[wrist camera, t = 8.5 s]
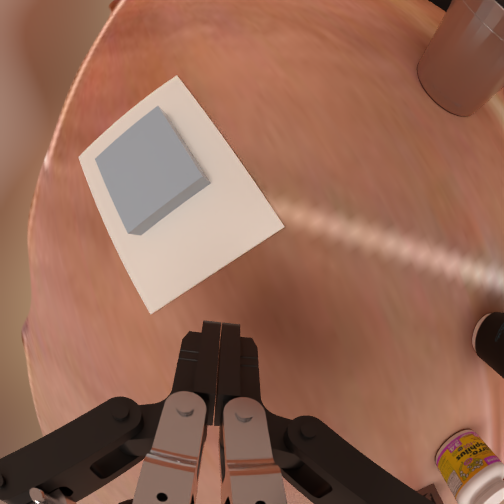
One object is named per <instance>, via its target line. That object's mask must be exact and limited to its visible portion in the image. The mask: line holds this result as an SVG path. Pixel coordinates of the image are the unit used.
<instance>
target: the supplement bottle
mask: <svg viewBox="0 0 504 504" xmlns="http://www.w3.org/2000/svg"><path fill="white" fill-rule="evenodd" d="M436 465H437V467H438V469H439V470H440V472H441V474H442V476H443V478H444V479H445V481H446V483H447V484H448V486H449V488H450V490H451V492H452V493H453V495H454V497H455V499H456V501H457V502H458V504H499V503H500V502H501V501H502V500H503V499H504V481H503V477H504V464H503V463H502V462H501V461H500V460H499V458H498V457H497V456H496V455H495V454H494V453H493V452H492V451H491V449H490V448H489V447H488V446H487V445H486V444H485V443H484V442H483V440H482V439H481V438H480V437H479V436H478V435H477V434H476V433H475V432H474V431H473V430H463V431H461V432H458V433H457V434H455V435H453V436H452V437H450V438H449V439H448V440H447V441H446V442H445V443H444V444H443V445H442V447H441V448H440V449H439V451H438V453H437V455H436Z"/></svg>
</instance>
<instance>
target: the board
mask: <svg viewBox="0 0 504 504" xmlns="http://www.w3.org/2000/svg"><path fill="white" fill-rule="evenodd" d="M157 106H159V107H160V108H161V109H162V110H163V111H164V112H165V113H166V114H167V115H168V117H169V118H170V120H171V121H172V123H173V125H174V126H175V128H176V129H177V131H178V132H179V134H180V136H181V137H182V139H183V140H184V142H185V143H186V145H187V146H188V148H189V150H190V151H191V153H192V154H193V156H194V157H195V159H196V161H197V162H198V164H199V165H200V167H201V168H202V170H203V172H204V173H205V175H206V176H207V178H208V179H209V181H210V182H211V184H209V185H208V186H206V187H205V188H204V189H202V190H201V191H199V192H198V193H197V194H195V195H194V196H192V197H191V198H190V199H188V200H187V201H185V202H184V203H183V204H181V205H180V206H179V207H177V208H176V209H175V210H173V211H172V212H171V213H169V214H168V215H167V216H165V217H164V218H163V219H161V220H160V221H159V222H157V223H156V224H155V225H154V226H152V227H151V228H150V229H148V230H147V231H146V232H145V233H143V234H142V235H134V234H128V233H127V231H126V229H125V227H124V225H123V223H122V220H121V218H120V216H119V214H118V212H117V210H116V208H115V205H114V203H113V201H112V199H111V196H110V194H109V192H108V190H107V187H106V185H105V183H104V180H103V178H102V175H101V173H100V171H99V168H98V166H97V163H96V161H95V158H96V157H97V156H98V155H99V154H101V153H102V152H103V151H104V150H105V149H106V148H107V147H108V146H109V145H110V144H111V143H113V142H114V141H115V140H116V139H117V138H118V137H119V136H121V135H122V134H123V133H124V132H125V131H126V130H128V129H129V128H130V127H131V126H132V125H134V124H135V123H136V122H137V121H139V120H140V119H141V118H142V117H144V116H145V115H146V114H147V113H149V112H150V111H151V110H153V109H154V108H155V107H157ZM79 160H80V163H81V166H82V169H83V172H84V174H85V177H86V180H87V182H88V185H89V188H90V190H91V193H92V195H93V198H94V200H95V203H96V205H97V207H98V210H99V212H100V215H101V217H102V219H103V222H104V224H105V226H106V228H107V231H108V233H109V235H110V237H111V239H112V241H113V244H114V246H115V248H116V250H117V252H118V254H119V256H120V258H121V260H122V262H123V264H124V266H125V268H126V270H127V272H128V274H129V276H130V278H131V280H132V282H133V283H134V285H135V287H136V289H137V291H138V293H139V295H140V296H141V298H142V300H143V302H144V304H145V305H146V307H147V309H148V311H149V312H150V314H153V313H155V312H156V311H158V310H159V309H161V308H162V307H164V306H165V305H167V304H168V303H170V302H172V301H173V300H175V299H176V298H178V297H179V296H181V295H182V294H184V293H185V292H187V291H188V290H190V289H191V288H193V287H194V286H196V285H197V284H199V283H201V282H202V281H204V280H205V279H207V278H208V277H210V276H211V275H213V274H214V273H216V272H217V271H219V270H220V269H222V268H223V267H225V266H227V265H228V264H230V263H231V262H233V261H234V260H236V259H237V258H239V257H240V256H242V255H243V254H245V253H246V252H248V251H249V250H251V249H253V248H254V247H256V246H257V245H259V244H260V243H262V242H263V241H265V240H266V239H268V238H269V237H271V236H272V235H274V234H276V233H277V232H279V231H280V230H282V229H283V228H285V227H284V225H283V224H282V222H281V221H280V219H279V218H278V216H277V215H276V213H275V212H274V210H273V209H272V207H271V206H270V204H269V203H268V201H267V200H266V198H265V197H264V195H263V194H262V192H261V191H260V189H259V188H258V186H257V185H256V183H255V182H254V180H253V179H252V178H251V176H250V175H249V173H248V172H247V170H246V169H245V167H244V166H243V165H242V163H241V162H240V160H239V159H238V157H237V156H236V155H235V153H234V152H233V150H232V149H231V148H230V146H229V145H228V143H227V142H226V141H225V139H224V138H223V136H222V135H221V134H220V132H219V131H218V129H217V128H216V127H215V125H214V124H213V123H212V121H211V120H210V118H209V117H208V116H207V114H206V113H205V112H204V110H203V109H202V108H201V106H200V105H199V104H198V102H197V101H196V100H195V98H194V97H193V96H192V94H191V93H190V92H189V90H188V89H187V88H186V86H185V85H184V84H183V82H182V81H181V80H180V79H179V77H178V76H175V77H174V78H172V79H171V80H169V81H168V82H166V83H165V84H163V85H162V86H161V87H159V88H158V89H157V90H155V91H154V92H152V93H151V94H150V95H148V96H147V97H146V98H145V99H143V100H142V101H141V102H139V103H138V104H137V105H136V106H134V107H133V108H132V109H131V110H129V111H128V112H127V113H126V114H125V115H123V116H122V117H121V118H120V119H119V120H117V121H116V122H115V123H114V124H113V125H112V126H111V127H109V128H108V129H107V130H106V131H105V132H104V133H103V134H102V135H101V136H100V137H99V138H97V139H96V140H95V141H94V142H93V143H92V144H91V145H90V146H89V147H88V148H87V149H86V150H85V151H84V152H83V153H82V154H81V155H80V156H79Z"/></svg>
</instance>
